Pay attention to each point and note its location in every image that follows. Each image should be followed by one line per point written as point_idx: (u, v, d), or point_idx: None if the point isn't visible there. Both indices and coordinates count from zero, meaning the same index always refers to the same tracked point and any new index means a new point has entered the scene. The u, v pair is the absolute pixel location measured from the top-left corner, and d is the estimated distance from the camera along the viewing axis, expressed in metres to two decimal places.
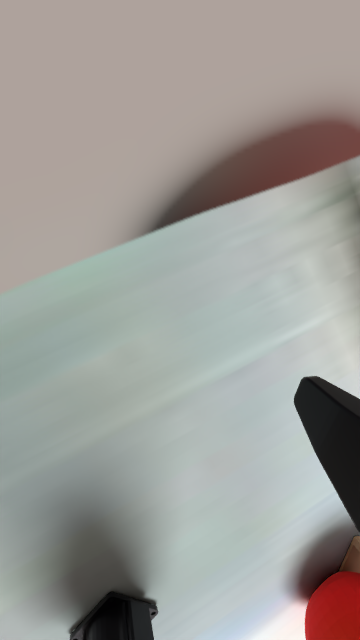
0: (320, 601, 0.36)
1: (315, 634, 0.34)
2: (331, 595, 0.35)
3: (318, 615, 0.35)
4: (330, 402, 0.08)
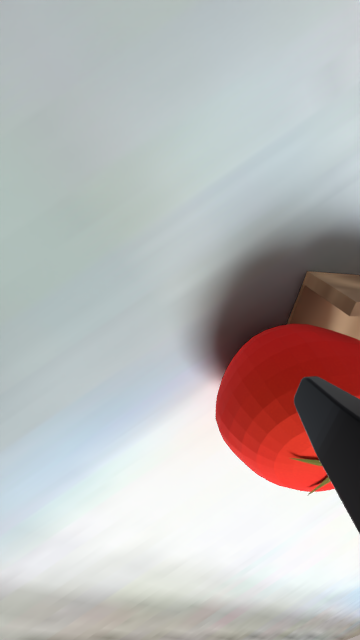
0: (237, 355, 0.22)
1: (223, 397, 0.21)
2: (254, 342, 0.21)
3: (231, 372, 0.21)
4: (330, 402, 0.08)
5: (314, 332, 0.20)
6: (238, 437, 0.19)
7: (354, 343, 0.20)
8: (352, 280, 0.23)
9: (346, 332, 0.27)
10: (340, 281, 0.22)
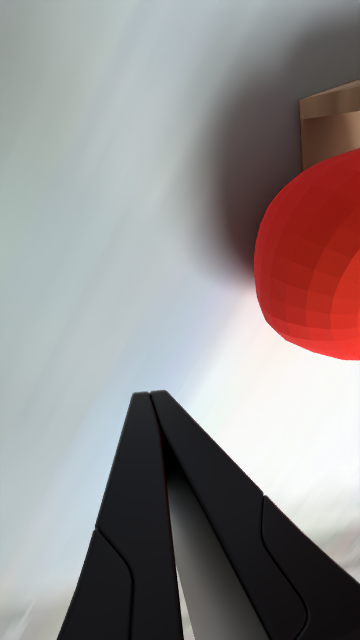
0: (258, 236, 0.17)
1: (263, 289, 0.17)
2: (270, 208, 0.16)
3: (259, 257, 0.17)
4: (158, 423, 0.07)
5: (339, 155, 0.15)
6: (299, 322, 0.15)
7: None
8: None
9: None
10: (346, 86, 0.17)
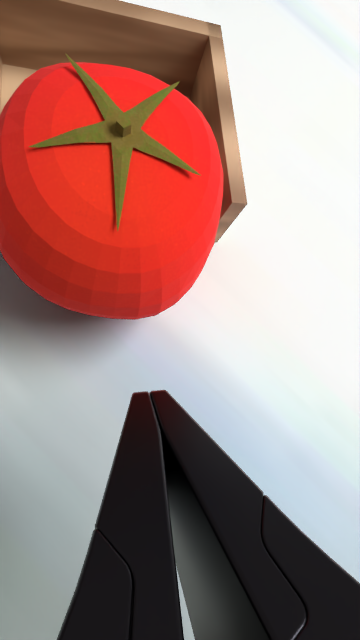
0: None
1: (110, 317, 0.16)
2: None
3: None
4: (158, 423, 0.07)
5: None
6: (136, 298, 0.14)
7: None
8: None
9: None
10: None
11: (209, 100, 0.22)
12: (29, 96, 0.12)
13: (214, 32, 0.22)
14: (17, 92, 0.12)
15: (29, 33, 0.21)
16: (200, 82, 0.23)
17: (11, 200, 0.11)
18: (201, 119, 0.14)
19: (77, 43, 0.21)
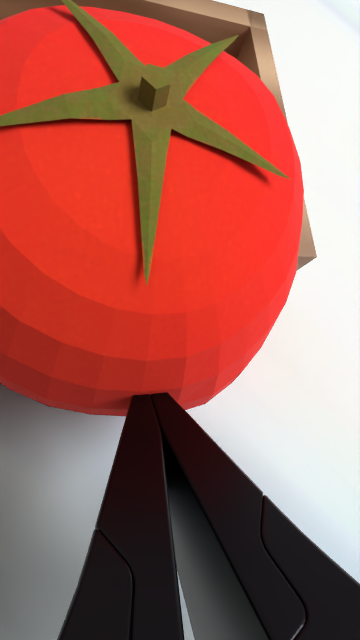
0: None
1: None
2: None
3: None
4: (157, 423, 0.07)
5: None
6: (173, 394, 0.08)
7: None
8: None
9: None
10: None
11: None
12: None
13: (256, 22, 0.16)
14: None
15: None
16: None
17: None
18: (272, 95, 0.08)
19: None
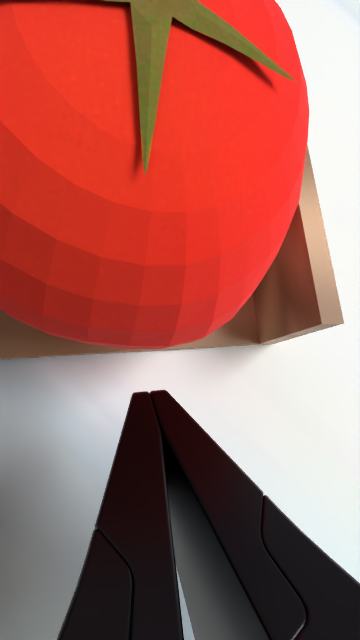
0: None
1: (123, 347, 0.09)
2: None
3: None
4: (158, 423, 0.07)
5: None
6: (172, 314, 0.08)
7: None
8: None
9: None
10: None
11: None
12: None
13: None
14: None
15: None
16: None
17: None
18: (279, 7, 0.08)
19: None
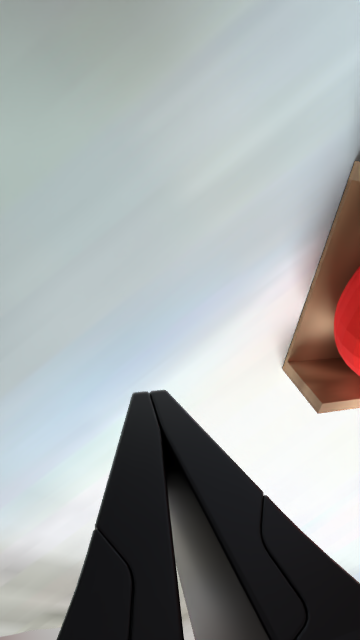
0: None
1: (359, 314, 0.18)
2: None
3: None
4: (158, 423, 0.07)
5: None
6: None
7: None
8: None
9: None
10: None
11: None
12: None
13: None
14: None
15: None
16: None
17: None
18: None
19: None
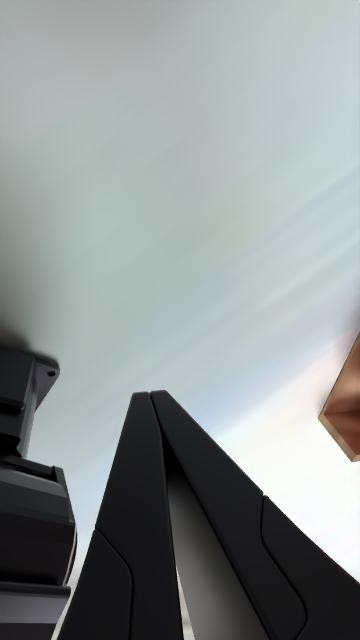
0: None
1: None
2: None
3: None
4: (158, 423, 0.07)
5: None
6: None
7: None
8: None
9: None
10: None
11: None
12: None
13: None
14: None
15: None
16: None
17: None
18: None
19: None
